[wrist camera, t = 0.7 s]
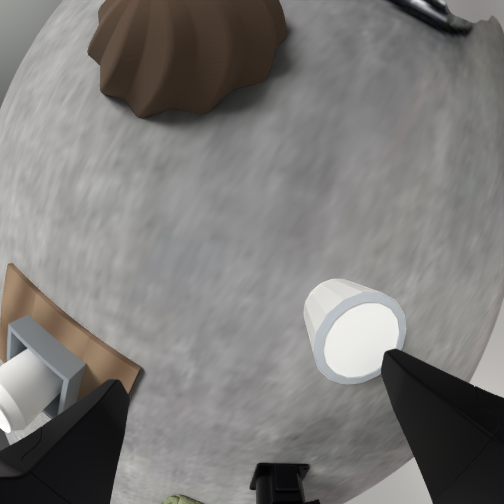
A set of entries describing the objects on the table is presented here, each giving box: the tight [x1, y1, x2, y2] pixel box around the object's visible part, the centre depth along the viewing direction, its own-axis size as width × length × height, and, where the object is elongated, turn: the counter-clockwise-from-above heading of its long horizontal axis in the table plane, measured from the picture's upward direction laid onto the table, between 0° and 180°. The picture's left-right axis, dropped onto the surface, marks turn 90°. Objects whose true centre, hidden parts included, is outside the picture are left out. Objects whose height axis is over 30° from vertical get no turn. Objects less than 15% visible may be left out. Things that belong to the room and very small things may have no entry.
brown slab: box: [0, 263, 141, 402], centre depth 23 cm, size 20×16×1 cm
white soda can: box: [0, 349, 63, 433], centre depth 18 cm, size 6×6×12 cm
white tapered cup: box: [303, 279, 407, 385], centre depth 19 cm, size 7×7×7 cm
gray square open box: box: [7, 314, 87, 419], centre depth 21 cm, size 9×9×4 cm
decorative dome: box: [88, 0, 286, 118], centre depth 15 cm, size 19×20×10 cm
